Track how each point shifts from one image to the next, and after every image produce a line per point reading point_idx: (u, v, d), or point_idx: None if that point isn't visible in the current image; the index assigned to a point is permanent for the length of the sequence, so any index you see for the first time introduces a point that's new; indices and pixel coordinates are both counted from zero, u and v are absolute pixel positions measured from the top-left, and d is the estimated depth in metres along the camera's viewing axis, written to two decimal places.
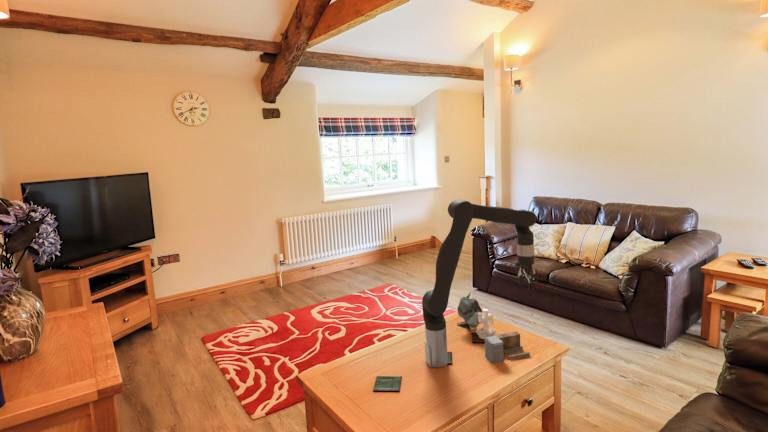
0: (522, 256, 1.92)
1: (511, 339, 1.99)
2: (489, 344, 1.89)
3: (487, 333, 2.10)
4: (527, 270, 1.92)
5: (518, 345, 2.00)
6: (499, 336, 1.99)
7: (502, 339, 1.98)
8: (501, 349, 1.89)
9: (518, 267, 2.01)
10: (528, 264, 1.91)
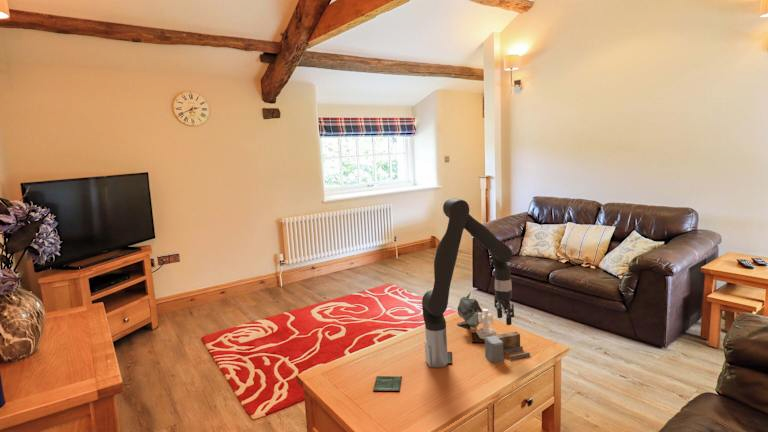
0: (499, 291, 1.93)
1: (511, 339, 1.99)
2: (489, 344, 1.89)
3: (487, 333, 2.10)
4: (504, 305, 1.94)
5: (518, 345, 2.00)
6: (499, 336, 1.99)
7: (502, 339, 1.98)
8: (501, 349, 1.89)
9: (497, 300, 2.03)
10: (505, 299, 1.93)
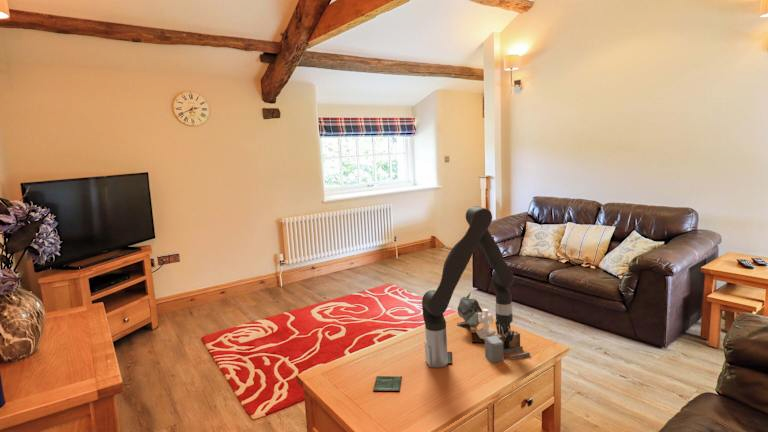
0: (500, 315, 1.95)
1: None
2: (489, 344, 1.89)
3: (487, 333, 2.10)
4: (505, 328, 1.96)
5: (518, 345, 2.00)
6: (499, 336, 1.99)
7: (502, 339, 1.98)
8: (501, 349, 1.89)
9: (498, 325, 2.04)
10: (506, 323, 1.95)
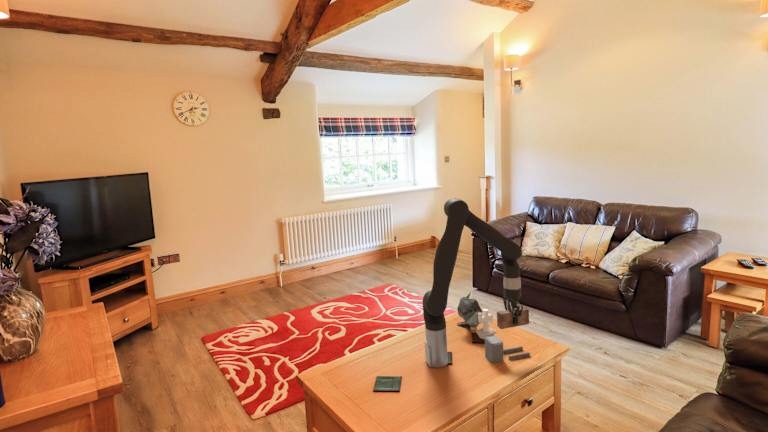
0: (508, 289, 1.88)
1: None
2: (489, 344, 1.89)
3: (487, 333, 2.10)
4: (514, 303, 1.89)
5: (527, 321, 1.93)
6: (507, 311, 1.92)
7: (510, 314, 1.91)
8: (501, 349, 1.89)
9: (506, 301, 1.97)
10: (515, 297, 1.88)
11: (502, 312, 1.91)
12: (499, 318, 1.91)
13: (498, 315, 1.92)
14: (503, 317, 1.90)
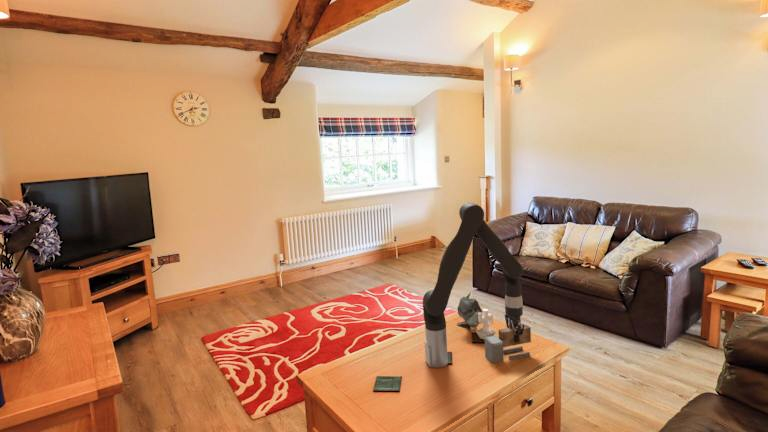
0: (510, 308, 1.88)
1: None
2: (489, 344, 1.89)
3: (487, 333, 2.10)
4: (515, 322, 1.89)
5: (528, 339, 1.93)
6: (509, 329, 1.92)
7: (512, 333, 1.91)
8: (501, 349, 1.89)
9: (507, 319, 1.97)
10: (516, 316, 1.88)
11: (504, 330, 1.92)
12: (501, 336, 1.91)
13: (500, 333, 1.92)
14: (504, 335, 1.90)
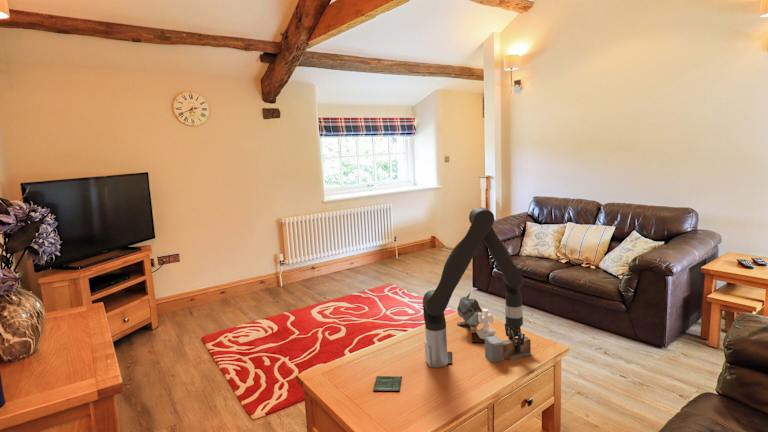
0: (510, 318, 1.89)
1: (522, 345, 1.93)
2: (489, 344, 1.89)
3: (487, 333, 2.10)
4: (515, 332, 1.90)
5: (528, 351, 1.94)
6: (509, 341, 1.93)
7: (512, 345, 1.92)
8: (501, 349, 1.89)
9: (507, 328, 1.98)
10: (516, 326, 1.89)
11: (504, 342, 1.93)
12: None
13: None
14: (504, 347, 1.91)
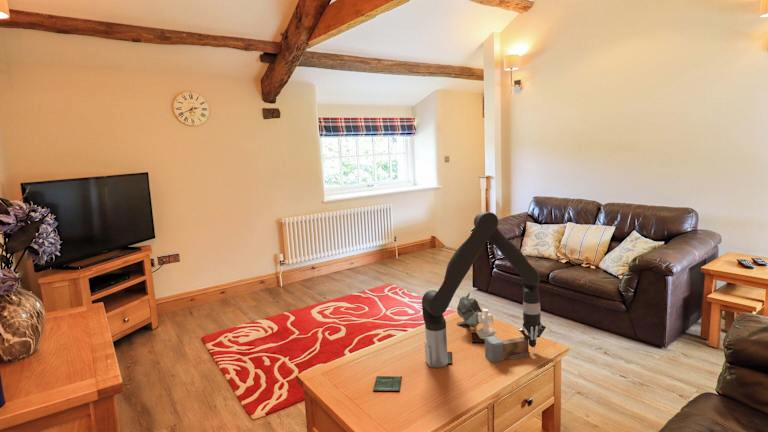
0: None
1: (519, 345, 1.93)
2: (489, 344, 1.89)
3: (487, 333, 2.10)
4: None
5: (526, 351, 1.94)
6: (507, 341, 1.93)
7: (510, 345, 1.92)
8: (501, 349, 1.89)
9: (539, 328, 1.96)
10: (523, 319, 1.94)
11: None
12: None
13: None
14: None
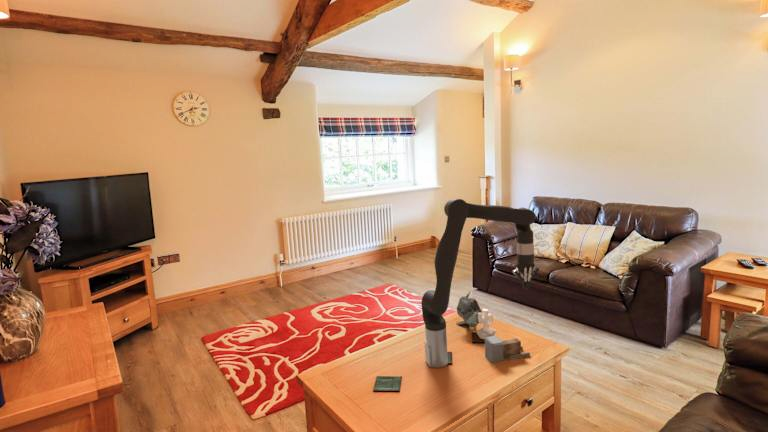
0: None
1: (512, 347, 1.92)
2: (489, 344, 1.89)
3: (487, 333, 2.10)
4: None
5: (519, 353, 1.93)
6: None
7: None
8: (501, 349, 1.89)
9: (533, 270, 1.96)
10: (517, 261, 1.94)
11: None
12: None
13: None
14: None
